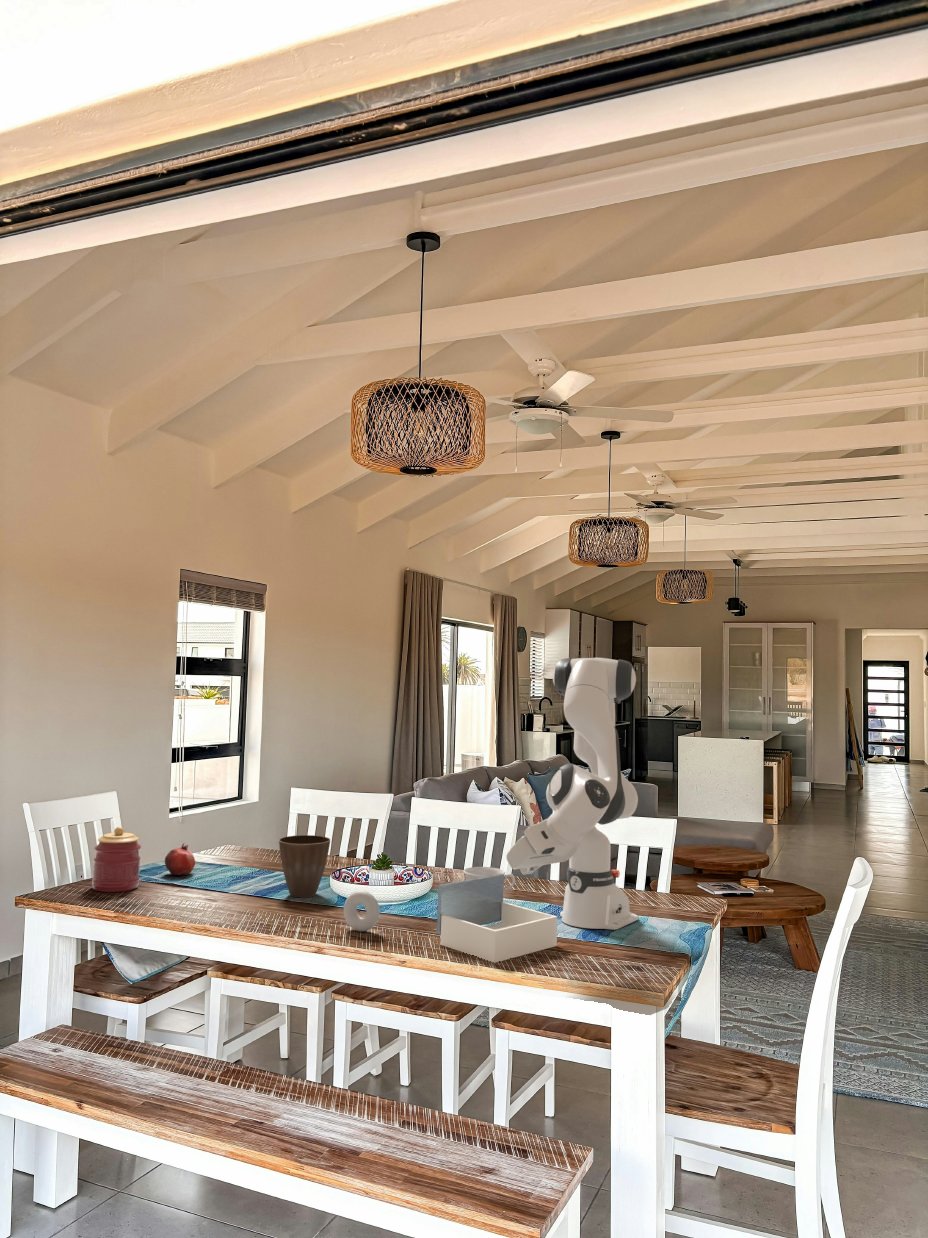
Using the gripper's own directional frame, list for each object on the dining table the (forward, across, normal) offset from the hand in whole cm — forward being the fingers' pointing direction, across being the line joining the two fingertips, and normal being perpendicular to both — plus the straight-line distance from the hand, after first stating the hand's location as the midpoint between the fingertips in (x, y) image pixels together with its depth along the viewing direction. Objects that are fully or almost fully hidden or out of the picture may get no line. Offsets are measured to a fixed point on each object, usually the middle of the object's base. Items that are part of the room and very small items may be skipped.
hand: (525, 872), depth 211 cm
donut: (+40, +19, -13) cm, 46 cm away
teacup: (+39, -25, -12) cm, 48 cm away
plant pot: (+69, +9, -42) cm, 82 cm away
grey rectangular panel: (+25, 0, -1) cm, 25 cm away
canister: (+97, +48, -70) cm, 129 cm away
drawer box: (+19, 0, +8) cm, 20 cm away
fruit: (+101, +25, -74) cm, 128 cm away
